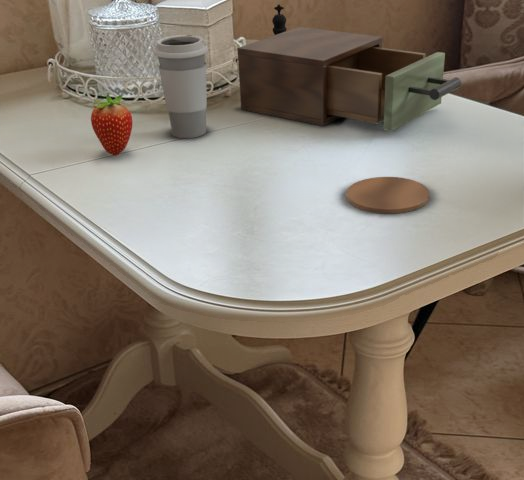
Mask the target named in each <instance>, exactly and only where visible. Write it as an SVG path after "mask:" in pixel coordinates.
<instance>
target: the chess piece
mask: <svg viewBox="0 0 524 480" xmlns="http://www.w3.org/2000/svg"><path fill="white" fill-rule="evenodd" d="M273 9H274V10H275V11H276V12H277V14H274V15H273V17H272V19H271V21H272V24H273V28H272V32H273V36H274V35H277V34H280V33H283V32H286V31H288V30H287V29H288V28H287V27H286V24H287V17H286V16H285V15H284V14H282V13H281V11H282V10H284V9H285V7H283V6H281V4H277V5H276V6H275V7H274V8H273Z"/></svg>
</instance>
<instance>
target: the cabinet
mask: <svg viewBox="0 0 524 480" xmlns="http://www.w3.org/2000/svg"><path fill="white" fill-rule="evenodd" d="M370 47H380V48H383V36H377V35H370V34H362V33H361V34H360V33H353V32H347V31H337V30H328V29H321V28H312V27H304V26H298V27H295V28H292V29H289V30H286V32H283V33H280V34H277V35H274V34H273V35H272V36H268V37H266V38H262V39H259V40H256V41H254V42H250V43H247V44H245V45H242V46H239V47H237V48H236V51H237V64H238V65H237V67H238V79H239V95H240V110H243V111H247V112H253V113H258V114H261V115H267V116H272V117H277V118H281V119H282V118H283V119H286V120H292V121H297V122H302V123H308V124H311V125H316V126H322V127H324V126H326V125H328V124H330V123H332V122H335V121H337V120H339V119H340V118H341V117H339V116H334V115H329V114H327V109H326V65H329V64H331V63H334V62H336V61H338V60H341V59H343V58H346V57H348V56H351V55H353V54H356V53H358V52H360V51H363V50H365V49H368V48H370Z"/></svg>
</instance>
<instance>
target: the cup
mask: <svg viewBox="0 0 524 480" xmlns="http://www.w3.org/2000/svg"><path fill="white" fill-rule="evenodd" d="M207 53H209V48H208V46H207V44H206V43H205V41H204V38H203V37H202V36H199V35H193V34H180V35H179V34H178V35H171V36H166V37H162V38H159V39H158V40H156V47H154V49H153V55H154V56H155V57H157V58H158V63H159V65H158V71H159V75H160V81H161V86H162V91H163V97H164V102H165V107H166V110H167V113H168V118H169V123H170V130H171V134H172V136H174V138H179V139H193V138H198V137H201V136H203V135H205V134H206V133H207V106H208V105H207V104H208V102H207V101H208V99H207V98H208V97H207V96H208V95H207V63H206V54H207Z"/></svg>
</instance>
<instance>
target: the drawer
mask: <svg viewBox="0 0 524 480" xmlns="http://www.w3.org/2000/svg"><path fill="white" fill-rule="evenodd" d="M445 57H446V53H445V52H440V51H436V52H434V53H432V54H430V55H428V56H427V54H426V52H425V53H424V52H418V51H417V52H416V51H411V50H410V51H409V50H402V49H394V48H387V47H382V48H380V47H370V48H368V49H365V50H363V51H360V52H358V53H356V54H353V55H351V56H348V57H346V58H343V59H341V60H338V61H336V62H334V63H331V64H329V65H326V109H327V114H329V115H334V116H339V117H340V118H345V119H349V120H356V121H361V122H365V123H370V124H371V123H372V124H376V125H378V124H380V123H382V122H383V130H385V131H393V130H395V129H397V128H399V127H401V126H402V125H405V124H406V123H408V122H410V121H412V120H414V119H415V118H417V117H419V116H421V115H423V114H425V113H427V112H428V111H431V110H432V109H434V108H436V107H438V106H439V105H441V104H442V99H443V97H444V96H446V95H448V94H450V93H451V92H453V91H455V90H458V89H459V88H461V86H462V80H461V78H460V77H456V76H455V77H453V78H451V79H447V78H444V74H445V73H444V71H445V60H446V58H445Z"/></svg>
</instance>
